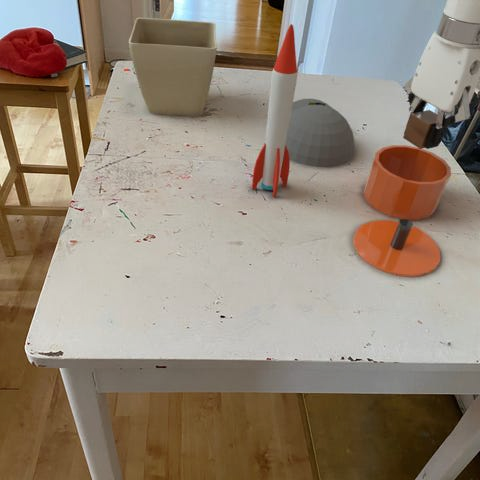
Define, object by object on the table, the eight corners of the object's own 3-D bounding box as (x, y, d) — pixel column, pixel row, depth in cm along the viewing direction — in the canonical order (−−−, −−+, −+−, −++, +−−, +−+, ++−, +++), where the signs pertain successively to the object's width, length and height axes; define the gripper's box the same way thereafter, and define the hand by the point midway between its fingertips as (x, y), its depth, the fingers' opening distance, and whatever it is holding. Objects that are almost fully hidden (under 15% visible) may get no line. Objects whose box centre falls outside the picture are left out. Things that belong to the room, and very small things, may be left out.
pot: (400, 176, 104) (413, 140, 98) (449, 212, 96) (467, 174, 90) (349, 191, 99) (359, 153, 92) (396, 229, 91) (411, 191, 84)
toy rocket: (286, 189, 97) (315, 24, 76) (274, 201, 94) (301, 32, 72) (262, 180, 99) (284, 16, 77) (250, 192, 96) (269, 23, 74)
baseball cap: (345, 112, 121) (359, 69, 110) (352, 189, 108) (368, 148, 98) (272, 106, 120) (279, 61, 109) (270, 182, 108) (277, 140, 97)
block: (420, 133, 90) (429, 109, 87) (437, 144, 87) (447, 120, 84) (402, 137, 88) (411, 113, 85) (420, 149, 86) (429, 124, 82)
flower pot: (141, 88, 126) (136, 15, 113) (212, 92, 127) (215, 21, 115) (134, 120, 113) (127, 42, 100) (214, 124, 115) (216, 48, 102)
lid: (397, 217, 93) (407, 190, 89) (456, 264, 85) (471, 236, 80) (335, 237, 87) (343, 209, 83) (392, 289, 79) (404, 262, 74)
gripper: (522, 46, 71) (469, 158, 84) (439, 12, 81) (403, 118, 94) (489, 51, 68) (439, 166, 82) (408, 15, 78) (375, 123, 91)
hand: (421, 139), depth 88 cm, fingers closed on block, 4 cm apart
